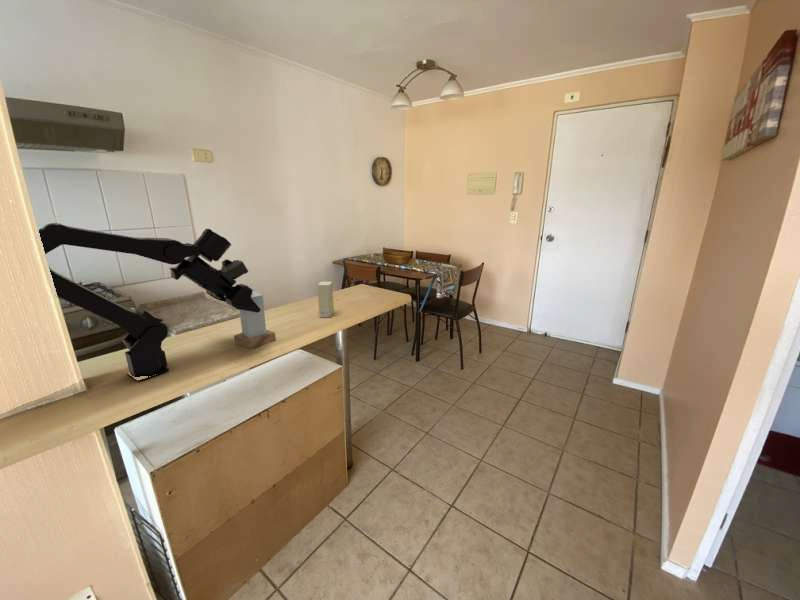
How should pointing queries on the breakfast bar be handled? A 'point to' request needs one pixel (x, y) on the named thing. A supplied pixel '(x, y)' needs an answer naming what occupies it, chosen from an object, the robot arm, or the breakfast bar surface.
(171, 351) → the breakfast bar surface
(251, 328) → the pillar
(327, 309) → the skincare box
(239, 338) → the walnut block
